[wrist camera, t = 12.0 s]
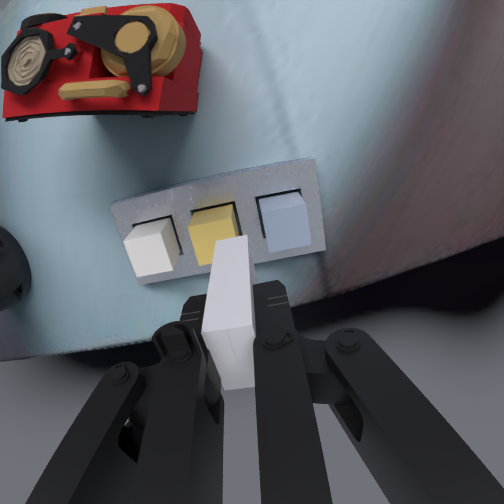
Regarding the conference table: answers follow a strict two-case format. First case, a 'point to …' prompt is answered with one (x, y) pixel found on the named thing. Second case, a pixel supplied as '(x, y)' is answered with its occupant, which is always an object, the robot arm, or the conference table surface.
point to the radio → (103, 63)
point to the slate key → (285, 221)
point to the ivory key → (152, 247)
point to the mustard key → (211, 230)
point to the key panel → (217, 192)
